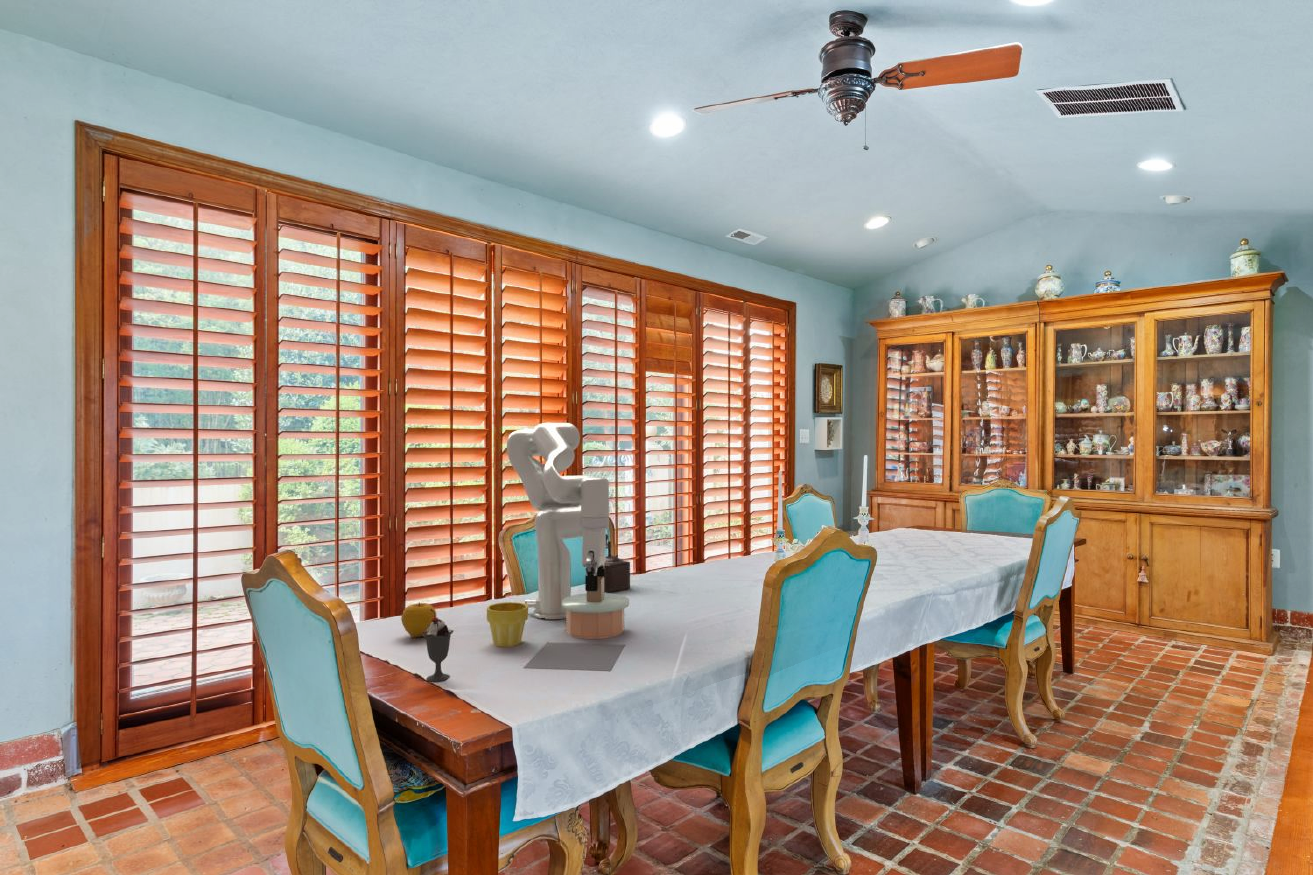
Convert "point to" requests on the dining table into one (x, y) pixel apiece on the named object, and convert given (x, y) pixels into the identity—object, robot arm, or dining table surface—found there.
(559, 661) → the mat
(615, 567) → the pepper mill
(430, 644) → the sundae
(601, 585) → the lid
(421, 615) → the apple
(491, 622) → the plant pot
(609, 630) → the bowl
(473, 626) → the dining table surface
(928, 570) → the dining table surface
